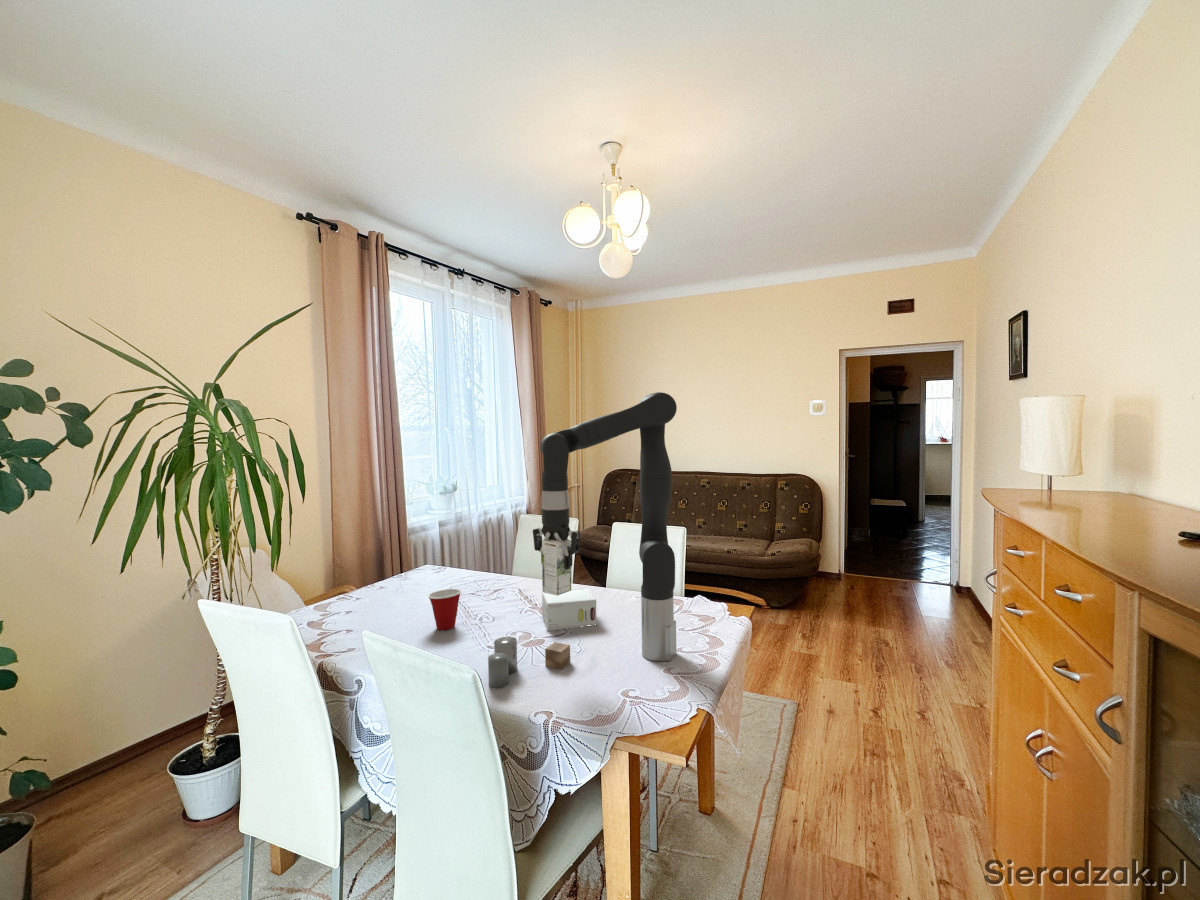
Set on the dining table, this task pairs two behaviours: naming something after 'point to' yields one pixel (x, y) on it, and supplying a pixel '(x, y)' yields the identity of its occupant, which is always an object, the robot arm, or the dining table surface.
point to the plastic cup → (445, 607)
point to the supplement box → (569, 609)
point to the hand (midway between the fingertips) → (556, 567)
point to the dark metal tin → (507, 651)
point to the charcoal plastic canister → (498, 670)
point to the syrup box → (554, 568)
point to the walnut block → (557, 655)
